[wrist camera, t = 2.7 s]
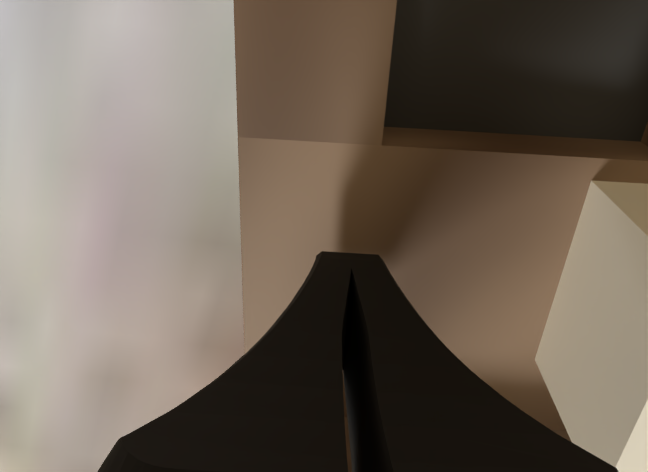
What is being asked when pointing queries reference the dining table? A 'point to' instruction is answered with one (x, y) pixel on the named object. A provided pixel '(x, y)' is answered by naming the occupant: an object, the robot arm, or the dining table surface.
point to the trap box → (436, 157)
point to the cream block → (603, 328)
